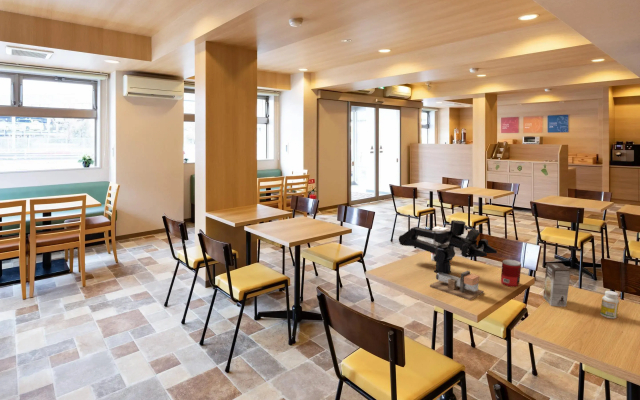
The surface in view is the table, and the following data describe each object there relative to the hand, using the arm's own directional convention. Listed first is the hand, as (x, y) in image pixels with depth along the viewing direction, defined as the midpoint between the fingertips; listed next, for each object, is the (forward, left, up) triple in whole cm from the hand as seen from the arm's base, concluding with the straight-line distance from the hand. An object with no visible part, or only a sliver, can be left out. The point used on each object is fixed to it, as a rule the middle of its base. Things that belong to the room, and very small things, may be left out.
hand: (491, 253), depth 180 cm
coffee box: (+26, +5, -16) cm, 31 cm away
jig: (-8, -15, -16) cm, 24 cm away
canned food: (+5, +11, -16) cm, 20 cm away
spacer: (-1, -15, -11) cm, 18 cm away
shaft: (-8, -15, -14) cm, 22 cm away
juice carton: (-37, +17, -16) cm, 44 cm away
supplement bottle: (+45, +7, -16) cm, 48 cm away
